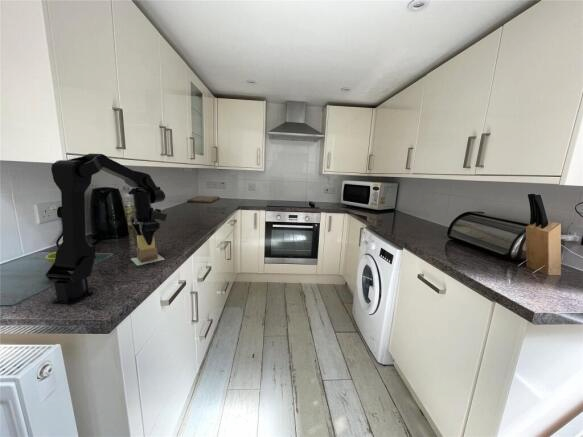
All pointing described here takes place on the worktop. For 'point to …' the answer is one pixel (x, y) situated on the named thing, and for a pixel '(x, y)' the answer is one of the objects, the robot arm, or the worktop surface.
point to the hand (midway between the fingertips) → (146, 242)
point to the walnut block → (147, 254)
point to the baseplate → (147, 261)
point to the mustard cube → (144, 243)
